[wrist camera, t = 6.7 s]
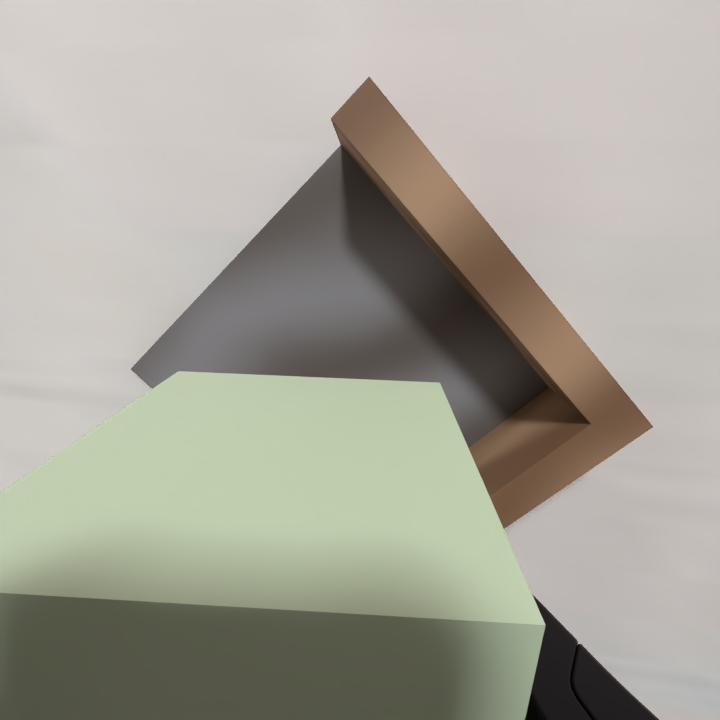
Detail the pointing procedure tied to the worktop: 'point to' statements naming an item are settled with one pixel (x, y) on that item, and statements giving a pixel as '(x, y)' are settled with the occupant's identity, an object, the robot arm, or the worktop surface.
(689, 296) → the worktop surface
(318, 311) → the corner arena
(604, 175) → the worktop surface
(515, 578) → the cube
